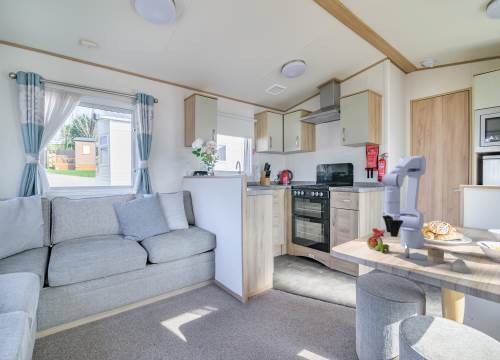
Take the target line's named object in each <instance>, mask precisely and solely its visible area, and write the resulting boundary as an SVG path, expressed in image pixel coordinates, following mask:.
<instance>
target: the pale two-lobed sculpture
mask: <svg viewBox="0 0 500 360" xmlns="http://www.w3.org/2000/svg"><path fill="white" fill-rule="evenodd" d="M450 267H451V268H450V269H451V270H452V271H453V272H455V273H459V274H470V273H471V271H470V269H469V267H468V266H467V264H466V262H465V261H464V259H461V258H458V259H456V260H454V261H453V263H452V264H451V266H450Z"/></svg>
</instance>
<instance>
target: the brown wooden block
mask: <svg viewBox="0 0 500 360" xmlns="http://www.w3.org/2000/svg"><path fill="white" fill-rule="evenodd" d="M427 256H428V261H430V262H433V263H444V261H445V250H443V249H441V248H437V247H427Z"/></svg>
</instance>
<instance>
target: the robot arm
mask: <svg viewBox="0 0 500 360" xmlns="http://www.w3.org/2000/svg"><path fill="white" fill-rule="evenodd" d="M426 169H427V158H426V156H425V155H411V156H408V155H407V156H400V157H399V160H398V165H395V166H394V167H393V169H392V170H391V171H390V172H389V173H385V174H383V175H382V179H381V183H382V188H383V189H382V191H383V192H384V203H383V204H384V209H383V210H384V211H380V215H382V216H381V217H382V218H383V220H384V224H385V229H386V232H387V233H389V234H390V237H393V238H397V237H398V235H399V232H400V247H403V248H405V244H409V249H419V248H425V246H424V245H425V235H424V232H423V231H422V230H423V228H424V225H425V224H424V222H425V221H424V215H423V213H422V212H421V211H419V210H418V201H419V200H418V199H419V192H420V180H421V176H422V175H425V173H426ZM406 176H407V177H408V178H407V184H406V193H405V194H406V196H405V203H404V204H405V205H404V206H405V207H404V208H403V209H401V188H402V187H403V184H404V181H405V178H406Z"/></svg>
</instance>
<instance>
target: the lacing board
mask: <svg viewBox="0 0 500 360" xmlns="http://www.w3.org/2000/svg"><path fill="white" fill-rule="evenodd" d="M393 257H395V258H398V259H400V260H403V261H405V262H408V263H411V264H414V265H416V266H420V267H422V268H427V267H428V268H429V267H433V266H440V265H445V264H450V261H446V260H444V263H433V262H430V261H428V254H423V253H419V252H411V253H410V252H409V258H405V253H403V254H396V255H393Z"/></svg>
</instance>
